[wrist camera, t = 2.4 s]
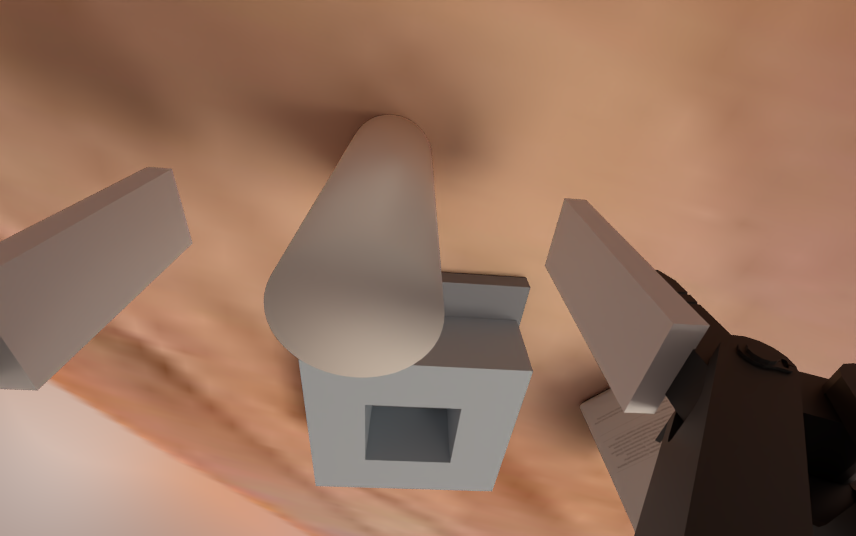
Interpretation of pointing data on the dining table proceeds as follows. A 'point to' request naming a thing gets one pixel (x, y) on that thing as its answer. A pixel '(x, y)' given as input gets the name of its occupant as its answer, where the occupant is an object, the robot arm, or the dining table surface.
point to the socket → (429, 400)
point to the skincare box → (627, 446)
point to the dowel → (365, 260)
